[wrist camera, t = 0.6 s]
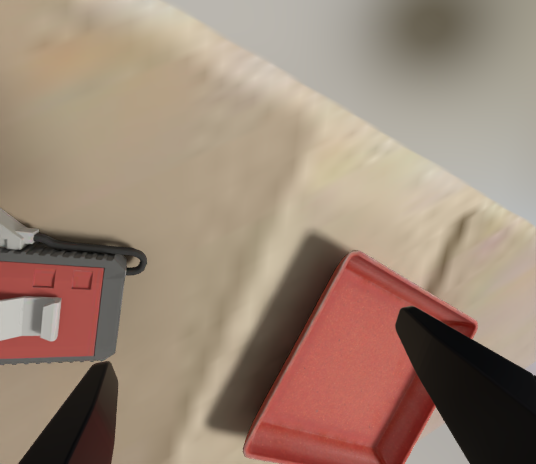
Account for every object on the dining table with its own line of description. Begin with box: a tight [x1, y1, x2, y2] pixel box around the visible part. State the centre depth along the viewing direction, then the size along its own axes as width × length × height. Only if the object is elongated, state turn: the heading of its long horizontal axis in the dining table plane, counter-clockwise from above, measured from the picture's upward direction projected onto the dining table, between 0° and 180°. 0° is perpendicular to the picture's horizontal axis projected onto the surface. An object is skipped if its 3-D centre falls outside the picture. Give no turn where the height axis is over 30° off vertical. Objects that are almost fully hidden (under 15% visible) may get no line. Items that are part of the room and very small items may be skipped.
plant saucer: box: [243, 250, 478, 464], centre depth 29 cm, size 18×18×3 cm
